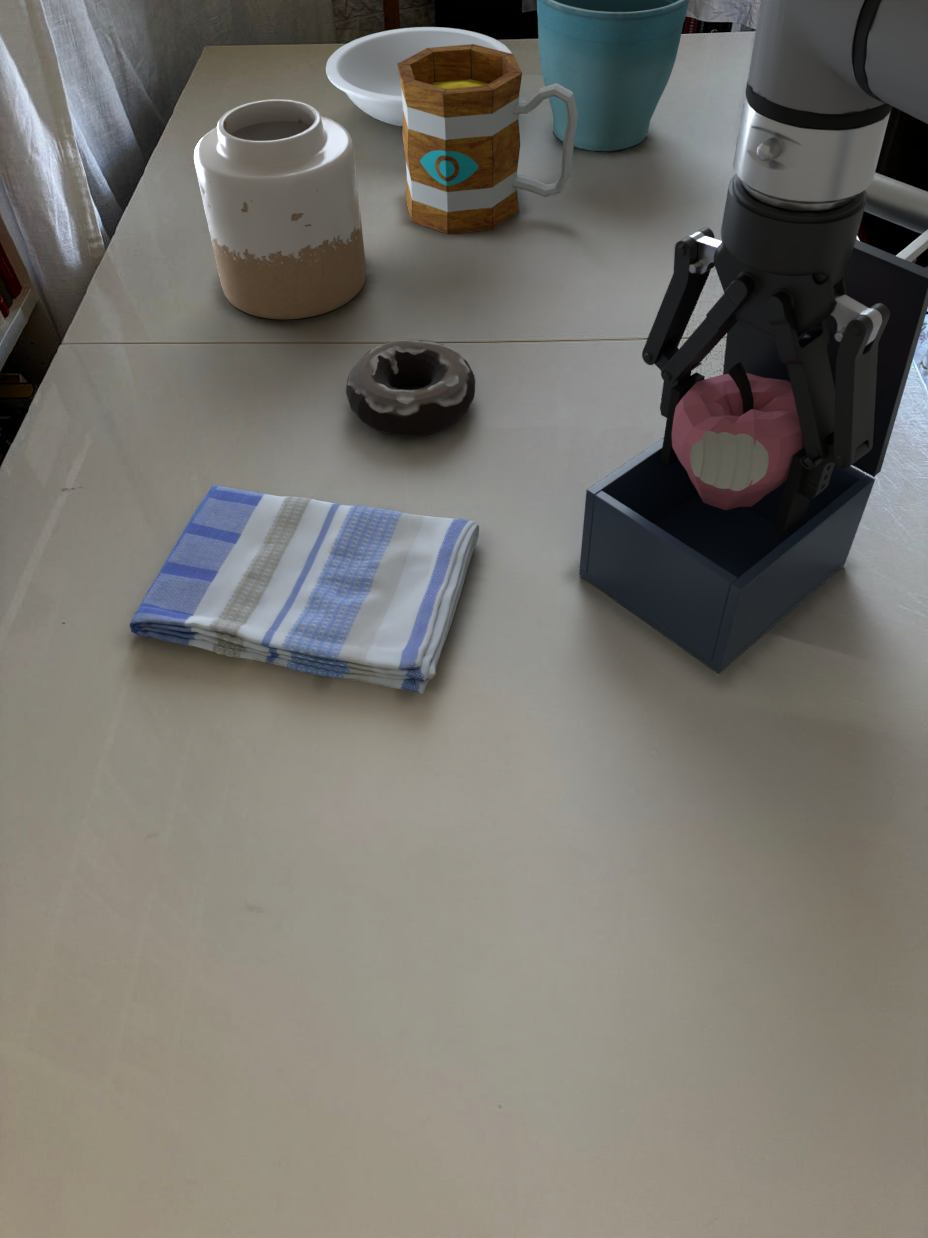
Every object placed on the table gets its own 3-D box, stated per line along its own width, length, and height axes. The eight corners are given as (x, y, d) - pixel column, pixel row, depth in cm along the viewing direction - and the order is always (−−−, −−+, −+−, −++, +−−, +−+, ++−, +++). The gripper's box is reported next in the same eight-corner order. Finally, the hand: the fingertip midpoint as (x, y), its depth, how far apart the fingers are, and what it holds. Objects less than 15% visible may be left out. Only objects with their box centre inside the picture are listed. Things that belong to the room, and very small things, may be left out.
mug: (389, 228, 117) (378, 89, 106) (420, 173, 126) (413, 39, 114) (561, 245, 114) (569, 103, 102) (581, 188, 122) (590, 51, 111)
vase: (396, 273, 110) (383, 112, 98) (293, 338, 103) (265, 172, 90) (296, 230, 117) (272, 74, 104) (192, 288, 109) (153, 126, 97)
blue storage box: (718, 674, 74) (740, 590, 67) (578, 575, 80) (585, 489, 74) (844, 565, 80) (875, 479, 74) (705, 482, 87) (722, 396, 81)
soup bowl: (381, 67, 147) (377, 17, 142) (539, 91, 141) (541, 39, 136) (298, 138, 133) (290, 84, 128) (470, 168, 126) (469, 112, 121)
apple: (644, 511, 73) (661, 394, 66) (685, 441, 78) (704, 325, 71) (777, 552, 70) (810, 435, 63) (811, 477, 75) (845, 360, 68)
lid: (930, 279, 60) (1025, 197, 64) (740, 200, 67) (836, 130, 70) (874, 477, 73) (955, 400, 77) (720, 394, 80) (801, 327, 84)
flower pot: (685, 111, 136) (705, -36, 123) (659, 173, 124) (678, 17, 112) (551, 96, 140) (557, -48, 127) (514, 155, 128) (516, 3, 116)
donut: (491, 378, 98) (491, 341, 95) (452, 455, 90) (451, 418, 87) (375, 358, 100) (372, 322, 97) (329, 432, 93) (323, 395, 90)
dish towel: (432, 704, 72) (430, 679, 70) (124, 646, 77) (114, 620, 74) (488, 536, 83) (488, 510, 81) (217, 493, 88) (210, 467, 86)
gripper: (605, 140, 61) (581, 441, 78) (944, 280, 50) (832, 596, 67) (686, 102, 64) (647, 399, 81) (1022, 225, 53) (896, 539, 70)
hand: (730, 488), depth 74 cm, fingers closed on apple, 9 cm apart
